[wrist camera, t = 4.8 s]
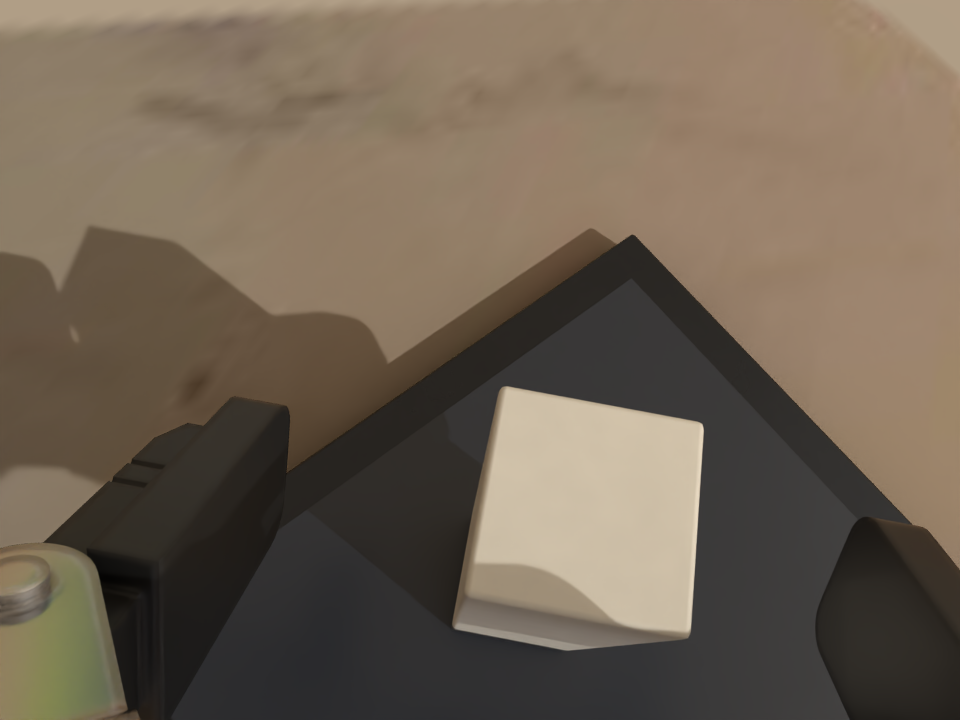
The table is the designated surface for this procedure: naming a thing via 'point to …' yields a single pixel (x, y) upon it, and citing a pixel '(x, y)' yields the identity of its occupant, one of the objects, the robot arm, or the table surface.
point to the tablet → (447, 515)
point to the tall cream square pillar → (582, 526)
